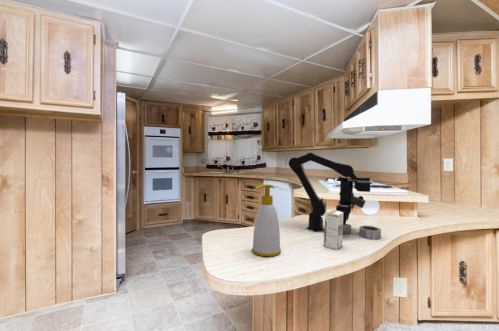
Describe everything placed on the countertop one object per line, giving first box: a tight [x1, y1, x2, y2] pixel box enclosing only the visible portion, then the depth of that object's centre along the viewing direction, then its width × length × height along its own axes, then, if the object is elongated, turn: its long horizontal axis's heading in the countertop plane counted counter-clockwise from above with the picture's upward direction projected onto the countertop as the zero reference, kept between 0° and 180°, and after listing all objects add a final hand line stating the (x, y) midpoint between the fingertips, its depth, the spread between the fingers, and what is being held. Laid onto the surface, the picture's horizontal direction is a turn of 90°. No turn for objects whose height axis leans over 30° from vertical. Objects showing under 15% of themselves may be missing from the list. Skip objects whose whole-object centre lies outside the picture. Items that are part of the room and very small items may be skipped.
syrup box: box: [323, 209, 344, 250], centre depth 100 cm, size 6×6×14 cm
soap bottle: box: [251, 183, 282, 257], centre depth 94 cm, size 11×12×26 cm
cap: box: [343, 223, 352, 236], centre depth 118 cm, size 5×5×4 cm
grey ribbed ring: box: [358, 225, 382, 241], centre depth 113 cm, size 9×9×4 cm
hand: (345, 222), depth 118 cm, fingers open, 9 cm apart
